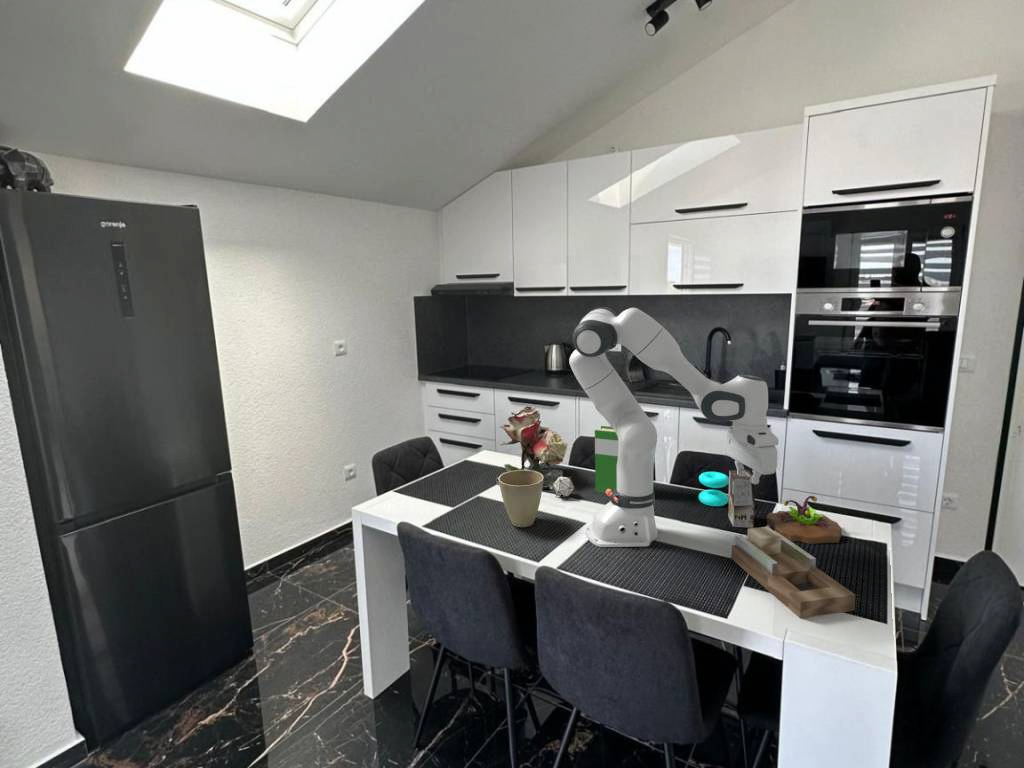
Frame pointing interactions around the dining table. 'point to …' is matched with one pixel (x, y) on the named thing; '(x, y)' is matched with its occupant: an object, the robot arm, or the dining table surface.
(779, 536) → the maple block
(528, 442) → the rose bouquet
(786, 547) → the lane walls
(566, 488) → the game die
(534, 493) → the plant pot
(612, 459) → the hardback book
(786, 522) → the plant
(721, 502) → the donuts
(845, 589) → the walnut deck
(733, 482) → the coffee box
